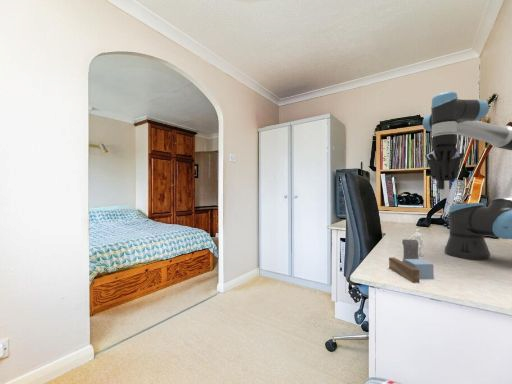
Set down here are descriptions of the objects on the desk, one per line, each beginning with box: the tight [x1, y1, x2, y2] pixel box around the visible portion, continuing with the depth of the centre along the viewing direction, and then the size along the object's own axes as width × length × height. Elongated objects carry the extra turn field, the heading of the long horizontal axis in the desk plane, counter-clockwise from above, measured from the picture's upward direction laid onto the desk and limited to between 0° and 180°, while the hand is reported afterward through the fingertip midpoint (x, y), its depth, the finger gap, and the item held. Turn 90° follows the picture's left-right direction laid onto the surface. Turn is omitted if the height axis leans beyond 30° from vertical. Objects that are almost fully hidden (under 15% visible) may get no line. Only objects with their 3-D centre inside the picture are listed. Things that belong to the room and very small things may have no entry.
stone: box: [402, 238, 420, 262], centre depth 93 cm, size 3×6×10 cm, turn 70°
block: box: [404, 258, 435, 280], centre depth 82 cm, size 6×6×5 cm
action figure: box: [406, 228, 424, 257], centre depth 107 cm, size 6×4×12 cm, turn 36°
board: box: [388, 257, 420, 283], centre depth 83 cm, size 2×14×4 cm, turn 179°
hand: (444, 197), depth 89 cm, fingers closed
